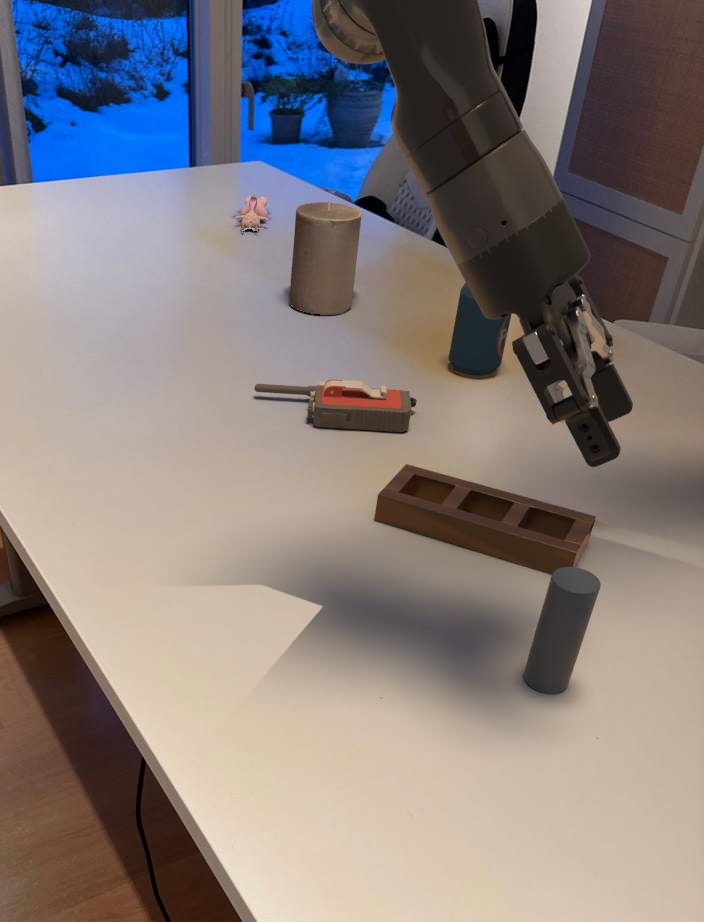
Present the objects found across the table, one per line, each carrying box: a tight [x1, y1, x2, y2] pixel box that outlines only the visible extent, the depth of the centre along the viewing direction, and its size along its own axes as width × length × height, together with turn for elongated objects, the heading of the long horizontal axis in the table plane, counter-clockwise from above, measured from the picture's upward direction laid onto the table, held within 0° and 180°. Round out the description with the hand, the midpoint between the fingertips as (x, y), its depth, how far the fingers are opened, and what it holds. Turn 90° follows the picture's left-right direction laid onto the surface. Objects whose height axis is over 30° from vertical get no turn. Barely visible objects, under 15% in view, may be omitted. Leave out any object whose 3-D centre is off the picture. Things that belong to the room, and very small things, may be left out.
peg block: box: [373, 463, 597, 575], centre depth 95 cm, size 8×20×3 cm, turn 60°
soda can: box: [448, 282, 512, 379], centre depth 125 cm, size 7×7×12 cm
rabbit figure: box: [235, 194, 269, 231], centre depth 179 cm, size 6×6×15 cm
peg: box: [522, 566, 602, 695], centre depth 75 cm, size 4×4×10 cm
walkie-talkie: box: [254, 379, 417, 433], centre depth 115 cm, size 9×4×20 cm
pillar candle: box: [288, 200, 363, 316], centre depth 142 cm, size 10×10×15 cm
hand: (613, 437), depth 67 cm, fingers open, 8 cm apart
